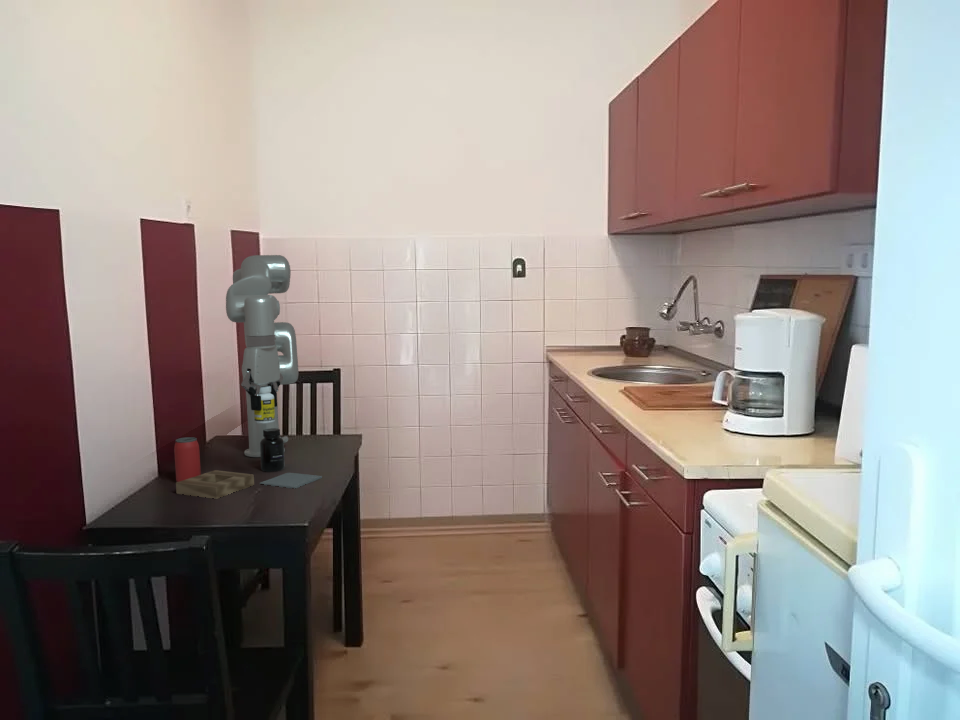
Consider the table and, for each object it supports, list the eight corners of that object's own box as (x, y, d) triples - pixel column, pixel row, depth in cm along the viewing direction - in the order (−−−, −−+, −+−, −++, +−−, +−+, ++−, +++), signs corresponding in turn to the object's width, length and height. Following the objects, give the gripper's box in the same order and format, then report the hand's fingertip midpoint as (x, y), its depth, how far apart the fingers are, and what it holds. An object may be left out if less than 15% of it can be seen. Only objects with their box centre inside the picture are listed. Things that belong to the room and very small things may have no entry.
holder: (215, 480, 214) (214, 470, 214) (254, 485, 208) (253, 474, 208) (176, 493, 201) (175, 482, 201) (216, 499, 195) (215, 487, 195)
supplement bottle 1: (264, 424, 204) (261, 388, 203) (250, 423, 207) (248, 387, 206) (279, 421, 208) (277, 386, 207) (266, 419, 211) (264, 384, 210)
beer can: (206, 478, 216) (203, 437, 215) (190, 484, 210) (187, 442, 209) (187, 477, 218) (184, 436, 217) (171, 483, 212) (168, 441, 211)
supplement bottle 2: (278, 472, 221) (276, 432, 220) (257, 472, 223) (254, 431, 221) (289, 466, 228) (287, 427, 227) (268, 466, 229) (265, 427, 228)
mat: (288, 474, 219) (288, 472, 219) (322, 477, 214) (322, 476, 214) (259, 484, 208) (259, 482, 208) (294, 488, 203) (294, 487, 203)
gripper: (272, 339, 214) (275, 402, 216) (226, 344, 199) (230, 412, 201) (292, 339, 211) (296, 404, 213) (248, 345, 196) (252, 414, 198)
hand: (264, 407), depth 207 cm, fingers closed on supplement bottle 1, 5 cm apart
